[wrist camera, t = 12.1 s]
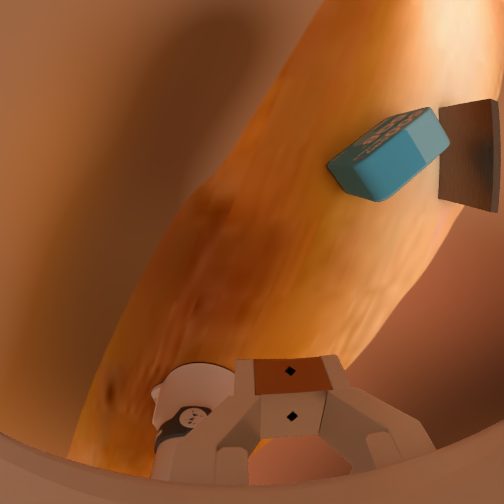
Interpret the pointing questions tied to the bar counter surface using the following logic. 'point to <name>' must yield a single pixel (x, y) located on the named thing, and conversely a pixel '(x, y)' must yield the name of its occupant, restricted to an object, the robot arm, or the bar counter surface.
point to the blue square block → (390, 155)
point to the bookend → (471, 155)
